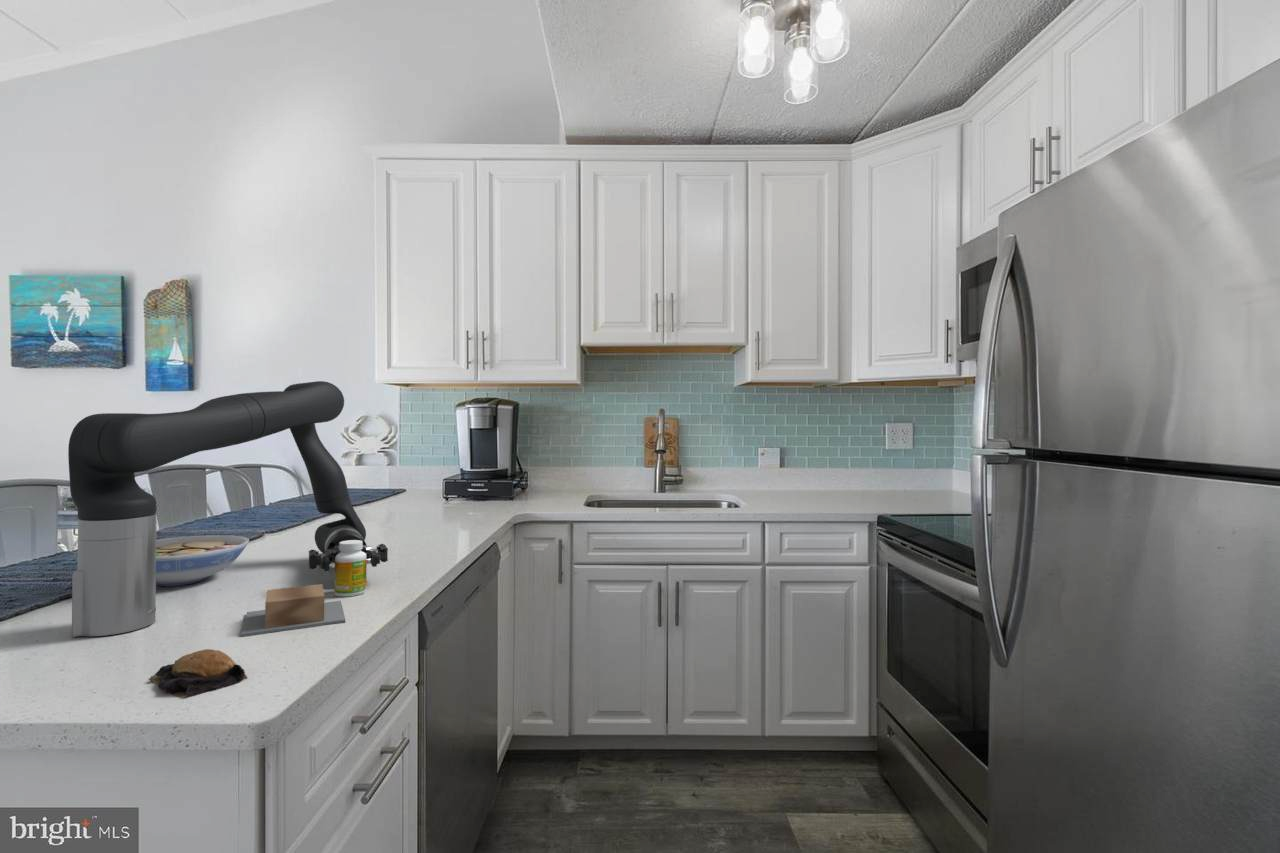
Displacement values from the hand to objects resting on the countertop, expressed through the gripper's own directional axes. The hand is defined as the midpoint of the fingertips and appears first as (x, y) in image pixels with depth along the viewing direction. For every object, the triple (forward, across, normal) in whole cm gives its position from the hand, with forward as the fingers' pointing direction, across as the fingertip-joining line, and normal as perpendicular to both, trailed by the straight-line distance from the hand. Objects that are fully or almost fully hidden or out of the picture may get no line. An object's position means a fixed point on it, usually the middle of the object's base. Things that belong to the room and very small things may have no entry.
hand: (351, 563), depth 111 cm
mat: (+10, -9, +6) cm, 15 cm away
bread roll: (+31, -19, +7) cm, 37 cm away
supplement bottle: (-2, 0, +6) cm, 7 cm away
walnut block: (+11, -9, +6) cm, 15 cm away
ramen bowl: (-27, -29, +6) cm, 40 cm away
